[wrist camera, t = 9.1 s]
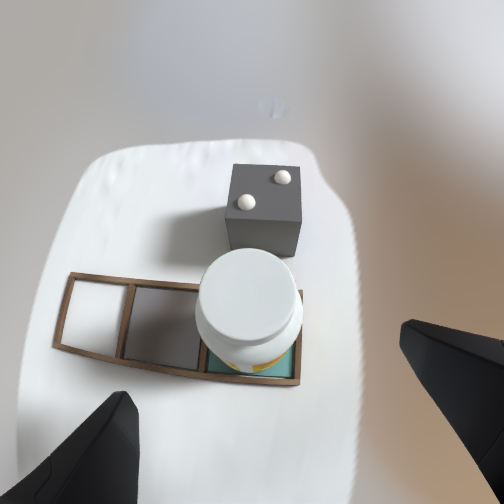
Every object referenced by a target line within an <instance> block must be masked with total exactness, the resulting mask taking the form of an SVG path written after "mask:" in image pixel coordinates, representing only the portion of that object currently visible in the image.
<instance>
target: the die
mask: <svg viewBox="0 0 504 504" xmlns="http://www.w3.org/2000/svg"><path fill="white" fill-rule="evenodd" d="M225 220H226V225H227V231H228V236H229V241H230V246H231V251H233V250H237V249H243V248H253V249H260V250H263V251H266V252H269V253H271V254H273V255H275V256H295V251H296V247H297V242H298V238H299V233H300V228H301V224H302V208H301V180H300V167H295V166H278V165H253V164H233V170H232V176H231V183H230V189H229V196H228V202H227V209H226V216H225Z"/></svg>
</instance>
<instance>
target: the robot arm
mask: <svg viewBox="0 0 504 504" xmlns="http://www.w3.org/2000/svg"><path fill="white" fill-rule="evenodd" d="M399 342H400V348H401V350H402V352H403V354H404V355H405V357H406V358H407V360H408V362H409V364H410V365H411V367H412V369H413V371H414V372H415V374H416V376H417V378H418V379H419V381H420V382H421V384H422V385H423V387H424V388H425V389H426V391H427V392H428V393H429V395H430V396H431V397H432V399H433V400H434V402H435V403H436V405H437V406H438V407H439V409H440V410H441V412H442V413H443V415H444V416H445V417H446V419H447V420H448V422H449V423H450V425H451V426H452V427H453V429H454V430H455V432H456V433H457V435H458V436H459V438H460V439H461V441H462V442H463V444H464V445H465V447H466V448H467V450H468V451H469V453H470V455H471V456H472V458H473V459H474V461H475V462H476V464H477V465H478V467H479V469H480V471H481V472H482V474H483V475H484V477H485V479H486V480H487V482H488V484H489V485H490V487H491V488H492V490H493V492H494V494H495V495H496V497H497V499H498V501H499V502H500V504H504V340H499V339H495V338H490V337H486V336H482V335H477V334H472V333H469V332H464V331H460V330H456V329H451V328H447V327H443V326H439V325H435V324H431V323H427V322H423V321H419V320H415V319H410V320H409V321H406V322H404V323H403V324H402V325H401V332H400V341H399ZM139 459H140V444H139V413H138V409H137V407H136V406H135V404H134V402H133V401H132V399H131V397H130V396H129V394H128V393H127V392H126V391H117V392H114V393H112V394H111V395H110V396H109V397H108V398H107V399H106V400H105V401H104V402H103V403H102V404H101V405H100V406H99V407H98V408H97V409H96V410H95V411H94V412H93V413H92V414H91V415H90V416H89V417H88V418H87V419H86V420H85V421H84V422H83V423H82V424H81V425H80V426H79V427H78V428H77V429H76V430H75V431H74V432H73V433H72V434H71V435H70V436H69V437H68V438H67V439H66V440H65V441H64V442H63V443H61V444H60V445H59V446H58V447H57V448H56V449H55V450H54V451H53V452H52V453H51V454H50V456H48V457H47V458H46V459H45V460H44V461H43V462H42V463H41V464H40V465H39V466H38V467H37V468H36V469H34V470H33V471H32V472H31V473H30V474H29V475H27V476H26V477H25V478H24V479H23V480H21V481H20V482H19V483H17V484H16V485H15V486H14V487H12V488H11V489H10V490H8V491H7V492H6V493H5V494H3V495H2V496H0V504H137V499H138V475H139Z"/></svg>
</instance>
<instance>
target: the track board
mask: <svg viewBox="0 0 504 504" xmlns="http://www.w3.org/2000/svg"><path fill="white" fill-rule="evenodd" d="M75 279H83V280H91V281H99V282H108V283H117V284H126V285H129V288H128V292H127V297H126V302H125V306H124V311H123V316H122V322H121V327H120V332H119V338H118V344H117V350H116V357H115V358H113V357H109V356H105V355H100V354H96V353H92V352H88V351H85V350H81V349H77V348H74V347H70V346H67V345H63V344H60V343H61V338H62V332H63V328H64V323H65V318H66V314H67V310H68V305H69V301H70V297H71V293H72V290H73V286H74V282H75ZM136 286H145V287H155V288H166V289H177V290H189V291H199V286H200V284H191V283H178V282H166V281H154V280H143V279H133V278H122V277H112V276H103V275H94V274H85V273H76V272H71V273H70V276H69V280H68V283H67V287H66V291H65V294H64V298H63V302H62V306H61V310H60V315H59V319H58V324H57V329H56V333H55V339H54V344H53V346H54V347H57V348H60V349H64V350H67V351H70V352H74V353H77V354H81V355H84V356H88V357H92V358H96V359H100V360H104V361H108V362H112V363H116V364H121V365H125V366H130V367H135V368H140V369H145V370H150V371H156V372H161V373H167V374H173V375H180V376H187V377H194V378H202V379H210V380H219V381H230V382H241V383H255V384H274V385H300V374H301V348H302V325H301V329H300V331H299V334H298V336H297V338H296V340H295V361H294V379H270V378H253V377H239V376H227V375H217V374H208V373H205V371H206V361H207V352H208V347H207V345H206V344H205V343H204V341H203V340H202V343H201V352H200V361H199V371H198V372H192V371H185V370H178V369H171V368H165V367H159V366H153V365H148V364H142V363H137V362H132V361H127V360H123V353H124V347H125V341H126V335H127V329H128V324H129V318H130V313H131V308H132V303H133V298H134V294H135V289H136ZM298 292H299V294H300V297H301V300H302V305H303V290H298ZM198 294H199V293H194V292H182V291H171V290H160V289H150V288H140V287H137V289H136V294H135V299H134V304H133V309H132V314H131V319H130V324H129V330H128V336H127V342H126V348H125V354H124V358H128V359H133V360H139V361H144V362H149V363H155V364H161V365H167V366H174V367H180V368H187V369H195V370H197V368H198V359H199V350H200V341H201V336H200V334H199V331H198V328H197V324H196V318H195V310H196V303H197V299H198ZM292 349H293V344H292V345H291V347H290V348H289V350H288V351H287V352H286V354H285V355H284V356H283V357H282V359H281V360H280V361H279V362H278V363H277V364H275V365H274V366H273V367H271V368H269V369H267V370H265V371H261V372H257V373H245V372H240V371H237V370H235V369H233V368H231V367H230V366H228V365H227V364H225V363H224V362H223V361H222V360H221V359H220V358H219V357H218V356H216V355H215V354H214V353H213V352H212V351H211V350H210V354H209V364H208V371H212V372H222V373H232V374H245V375H260V376H281V377H291V371H292Z"/></svg>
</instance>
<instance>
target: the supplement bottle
mask: <svg viewBox="0 0 504 504" xmlns="http://www.w3.org/2000/svg"><path fill="white" fill-rule="evenodd" d="M195 318H196V324H197V328H198V331H199V334H200V336H201V338H202V340H203V341H204V343H205V344H206V345H207V347H208V348H209V349H210V350H211V351H212V352H213V353H214V354H215V355H216V356H218V357H219V358H220V359H221V360H222V361H223V362H224V363H225V364H227V365H228V366H230V367H231V368H233V369H235V370H237V371H240V372H245V373H257V372H261V371H265V370H267V369H269V368H271V367H273V366H274V365H275V364H277V363H278V362H279V361H280V360H281V359H282V357H283V356H284V355H285V354H286V352H287V351H288V350H289V348H290V347H291V345H292V344H293V343H294V341H295V340H296V338H297V336H298V334H299V331H300V329H301V325H302V321H303V305H302V300H301V297H300V294H299V292H298V290H297V288H296V284H295V281H294V278H293V276H292V274H291V272H290V270H289V268H288V267H287V266H286V265H285V264H284V262H282V261H281V260H280V259H279V258H277V257H276V256H275V255H273V254H271V253H269V252H266V251H263V250H260V249H253V248H243V249H237V250H233V251H230V252H228V253H226V254H224V255H222V256H220V257H219V258H217V259H216V260H215V261H214V262H213V263H212V264H211V265H210V266H209V267H208V268H207V270H206V271H205V273H204V275H203V277H202V280H201V282H200V286H199V294H198V299H197V303H196V310H195Z"/></svg>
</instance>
